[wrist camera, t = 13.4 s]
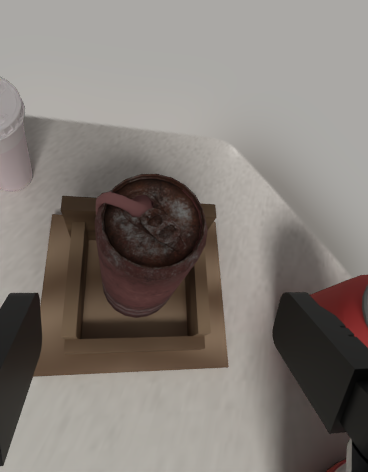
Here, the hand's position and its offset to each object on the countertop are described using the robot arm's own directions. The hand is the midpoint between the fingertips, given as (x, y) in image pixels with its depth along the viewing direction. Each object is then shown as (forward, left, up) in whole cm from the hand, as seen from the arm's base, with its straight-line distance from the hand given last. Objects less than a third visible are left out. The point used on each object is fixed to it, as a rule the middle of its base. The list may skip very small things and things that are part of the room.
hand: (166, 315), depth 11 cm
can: (-4, +4, -18) cm, 19 cm away
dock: (-4, +3, -19) cm, 20 cm away
